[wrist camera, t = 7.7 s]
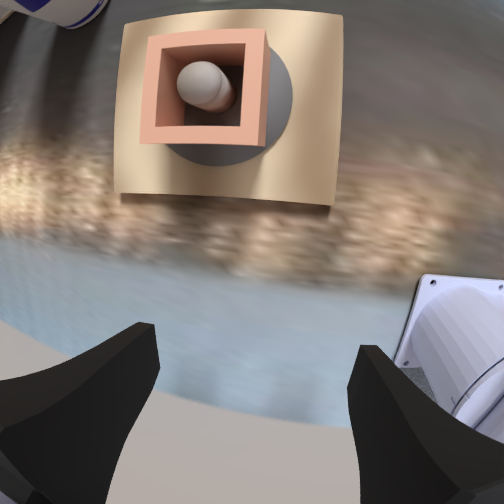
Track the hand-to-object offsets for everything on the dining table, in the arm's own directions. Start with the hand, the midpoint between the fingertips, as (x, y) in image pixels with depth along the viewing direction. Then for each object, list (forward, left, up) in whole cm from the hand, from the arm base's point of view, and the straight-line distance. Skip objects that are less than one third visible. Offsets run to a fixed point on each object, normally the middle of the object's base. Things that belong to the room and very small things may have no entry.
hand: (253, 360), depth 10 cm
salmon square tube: (+4, -10, -9) cm, 14 cm away
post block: (+4, -10, -10) cm, 15 cm away
